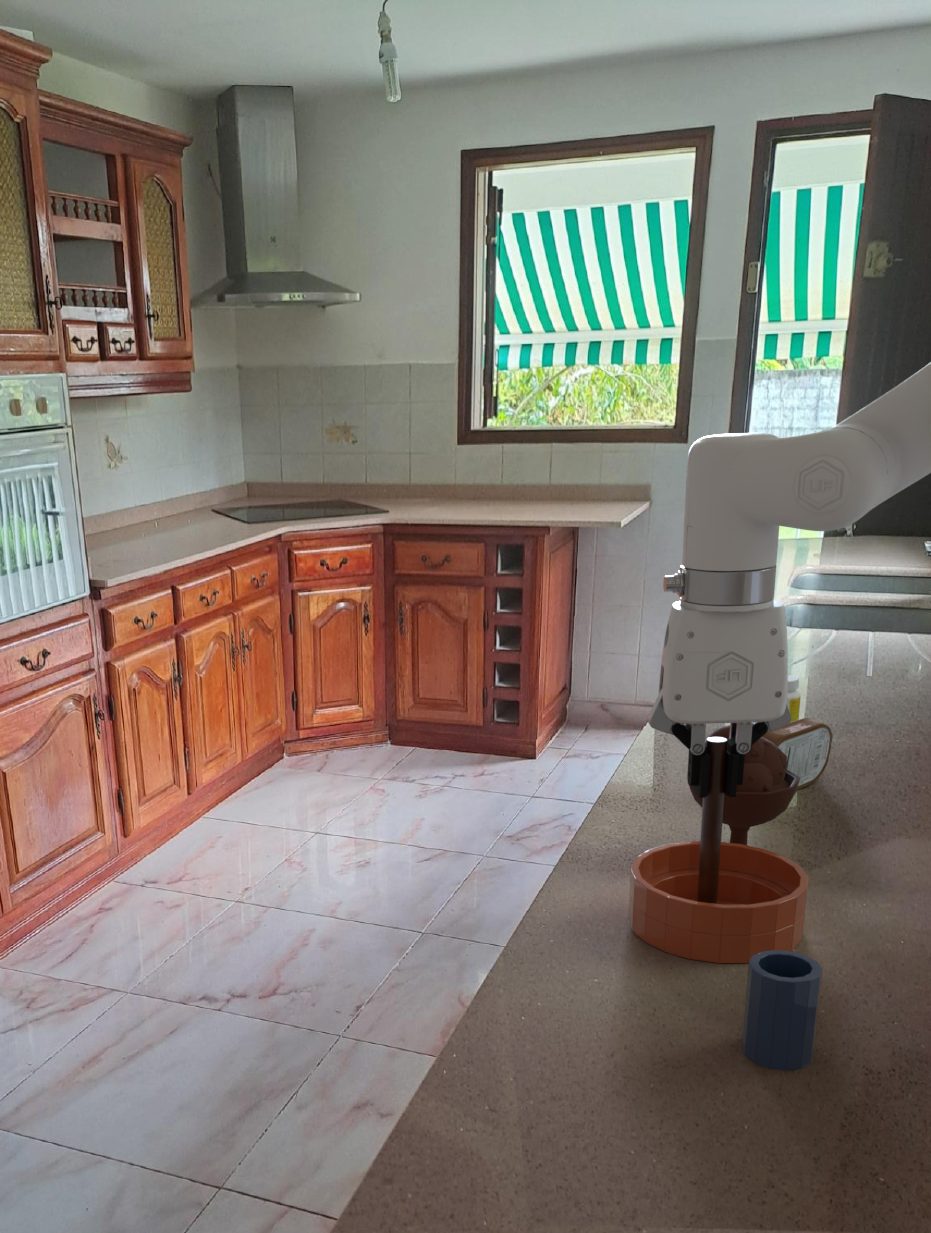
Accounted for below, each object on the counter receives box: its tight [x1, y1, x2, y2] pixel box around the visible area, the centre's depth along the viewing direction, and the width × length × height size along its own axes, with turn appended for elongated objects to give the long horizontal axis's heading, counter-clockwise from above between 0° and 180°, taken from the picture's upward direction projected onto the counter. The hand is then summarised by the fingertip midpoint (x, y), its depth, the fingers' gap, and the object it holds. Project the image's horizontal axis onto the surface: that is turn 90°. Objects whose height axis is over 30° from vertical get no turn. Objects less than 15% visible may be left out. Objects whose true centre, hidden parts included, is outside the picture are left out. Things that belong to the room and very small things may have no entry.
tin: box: [762, 717, 834, 791], centre depth 142 cm, size 15×3×8 cm, turn 126°
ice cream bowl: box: [689, 724, 801, 846], centre depth 122 cm, size 11×11×15 cm
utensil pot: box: [741, 950, 824, 1071], centre depth 87 cm, size 5×5×8 cm
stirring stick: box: [697, 737, 728, 904], centre depth 106 cm, size 2×2×18 cm
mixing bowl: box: [628, 841, 809, 964], centre depth 108 cm, size 15×15×6 cm
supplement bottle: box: [787, 674, 802, 722], centre depth 163 cm, size 5×5×8 cm
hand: (714, 791), depth 104 cm, fingers closed on stirring stick, 1 cm apart
